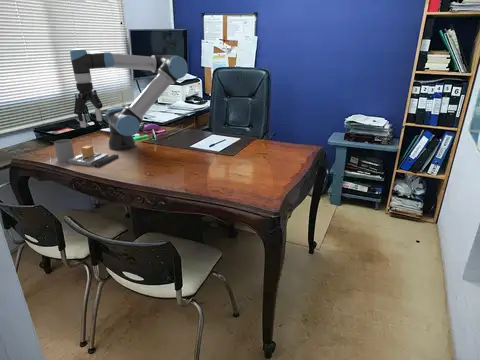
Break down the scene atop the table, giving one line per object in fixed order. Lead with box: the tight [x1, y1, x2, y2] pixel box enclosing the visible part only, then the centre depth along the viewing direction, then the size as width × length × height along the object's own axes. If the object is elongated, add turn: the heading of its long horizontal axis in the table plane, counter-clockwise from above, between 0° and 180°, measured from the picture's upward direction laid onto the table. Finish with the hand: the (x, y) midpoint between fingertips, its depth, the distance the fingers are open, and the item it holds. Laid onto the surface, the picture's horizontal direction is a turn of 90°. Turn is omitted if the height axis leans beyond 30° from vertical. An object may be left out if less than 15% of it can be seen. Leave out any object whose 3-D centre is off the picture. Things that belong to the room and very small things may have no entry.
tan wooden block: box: [80, 145, 95, 158], centre depth 180 cm, size 4×4×5 cm
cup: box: [53, 138, 76, 163], centre depth 181 cm, size 8×8×10 cm
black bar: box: [93, 153, 119, 168], centre depth 179 cm, size 17×3×2 cm, turn 163°
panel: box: [67, 152, 110, 167], centre depth 181 cm, size 14×14×3 cm
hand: (91, 123), depth 179 cm, fingers open, 13 cm apart
